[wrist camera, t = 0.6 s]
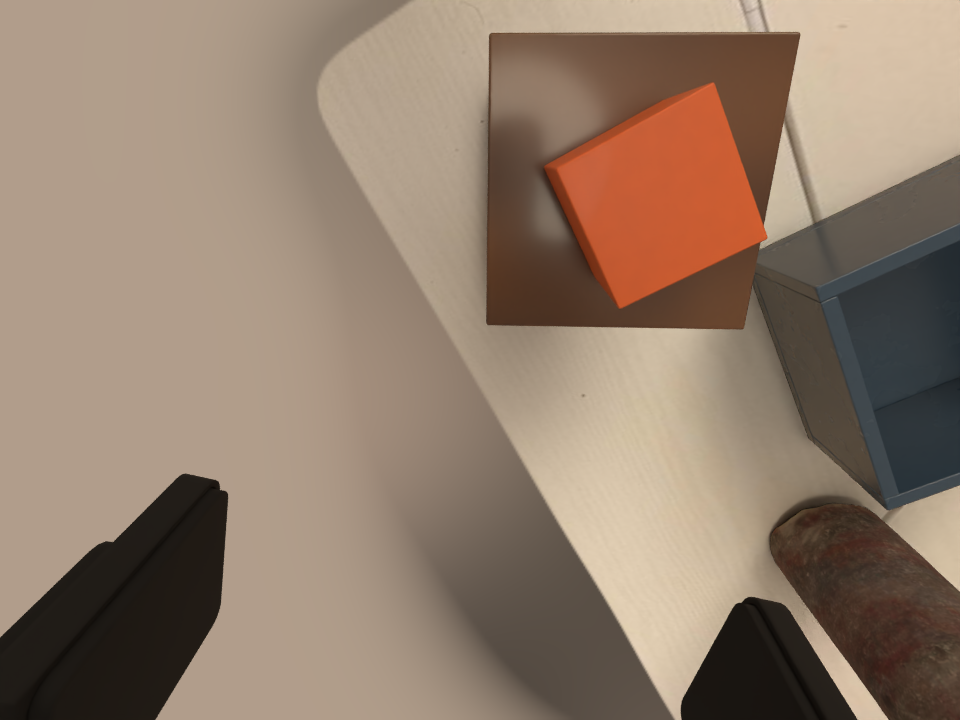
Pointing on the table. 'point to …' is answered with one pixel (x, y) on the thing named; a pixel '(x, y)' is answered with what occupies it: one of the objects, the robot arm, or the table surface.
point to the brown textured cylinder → (877, 607)
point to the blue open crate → (876, 334)
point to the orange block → (658, 196)
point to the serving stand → (589, 113)
